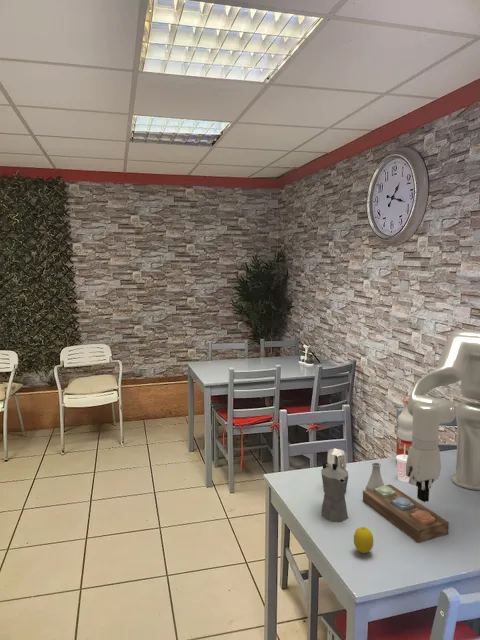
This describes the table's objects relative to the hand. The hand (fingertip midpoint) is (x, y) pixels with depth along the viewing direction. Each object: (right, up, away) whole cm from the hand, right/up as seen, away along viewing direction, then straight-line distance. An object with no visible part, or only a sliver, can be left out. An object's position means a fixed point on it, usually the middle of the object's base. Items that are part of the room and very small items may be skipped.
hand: (422, 499), depth 142 cm
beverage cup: (+7, -7, +36) cm, 38 cm away
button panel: (-3, -10, +10) cm, 14 cm away
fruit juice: (+14, -5, +49) cm, 52 cm away
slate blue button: (-3, -7, +10) cm, 12 cm away
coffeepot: (-26, -10, +13) cm, 30 cm away
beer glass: (-21, -8, +28) cm, 36 cm away
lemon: (-21, -12, -9) cm, 26 cm away
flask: (-6, -8, +29) cm, 31 cm away
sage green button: (-6, -6, +18) cm, 20 cm away
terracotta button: (0, -8, +1) cm, 8 cm away
